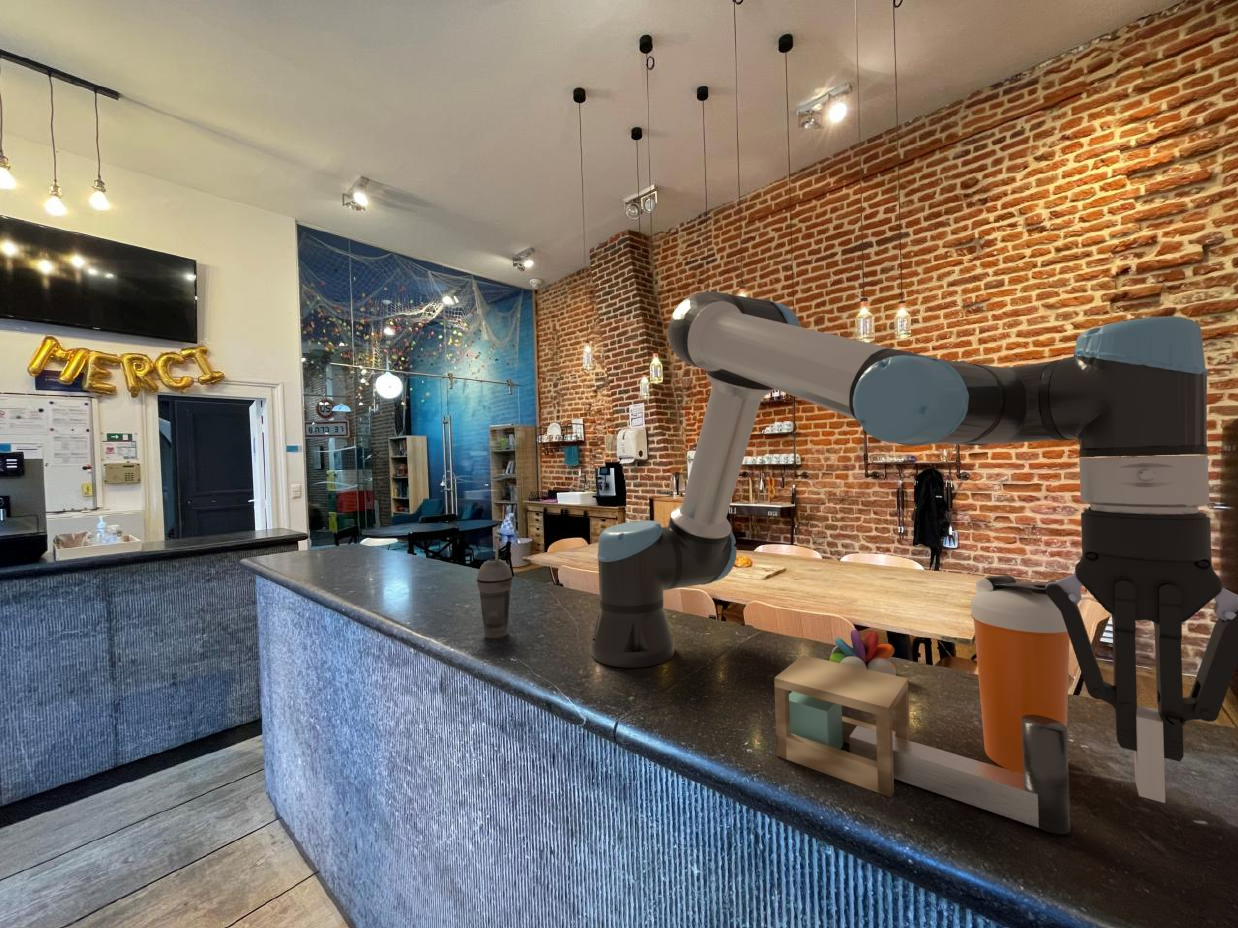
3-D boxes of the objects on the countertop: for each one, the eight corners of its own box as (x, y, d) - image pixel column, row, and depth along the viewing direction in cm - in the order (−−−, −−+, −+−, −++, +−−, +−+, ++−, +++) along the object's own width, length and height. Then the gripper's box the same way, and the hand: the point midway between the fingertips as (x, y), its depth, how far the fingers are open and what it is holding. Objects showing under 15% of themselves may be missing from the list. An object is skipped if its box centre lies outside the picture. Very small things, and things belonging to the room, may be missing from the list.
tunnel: (776, 755, 59) (774, 677, 59) (805, 724, 66) (803, 654, 66) (891, 797, 51) (888, 707, 51) (910, 757, 58) (907, 678, 58)
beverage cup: (498, 626, 110) (495, 534, 110) (521, 632, 106) (519, 536, 106) (470, 636, 104) (467, 538, 104) (494, 643, 100) (491, 541, 100)
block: (785, 749, 60) (783, 698, 60) (801, 732, 64) (800, 684, 64) (828, 764, 57) (827, 711, 57) (842, 745, 61) (841, 695, 61)
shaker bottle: (1047, 794, 51) (1041, 594, 51) (957, 750, 59) (952, 577, 59) (1095, 771, 54) (1089, 584, 55) (1004, 732, 63) (999, 569, 63)
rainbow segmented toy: (905, 690, 75) (904, 641, 75) (835, 686, 77) (834, 638, 77) (888, 667, 83) (886, 623, 83) (825, 664, 85) (823, 621, 85)
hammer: (849, 763, 56) (847, 682, 56) (858, 750, 59) (856, 673, 59) (1070, 839, 44) (1067, 736, 44) (1069, 819, 47) (1066, 721, 47)
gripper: (1039, 509, 44) (1047, 782, 44) (1282, 515, 35) (1292, 855, 35) (1040, 502, 50) (1047, 745, 49) (1250, 507, 41) (1259, 799, 41)
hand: (1149, 790), depth 42 cm, fingers closed
